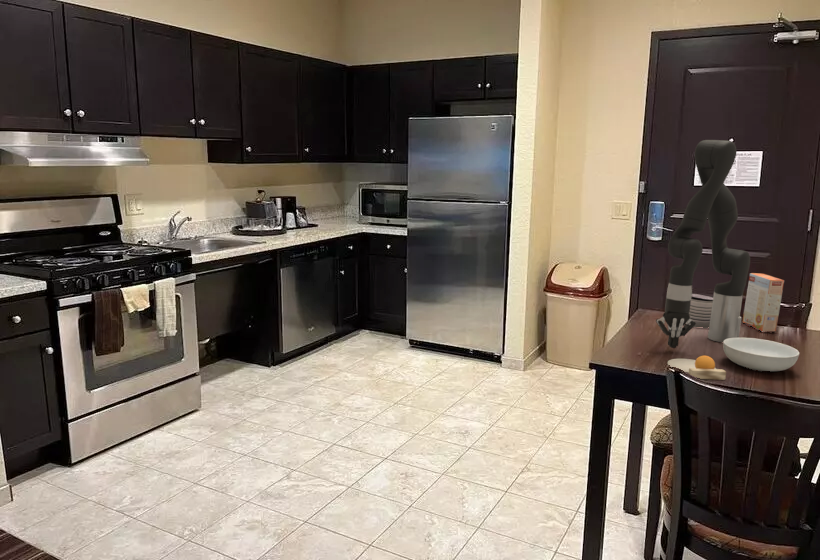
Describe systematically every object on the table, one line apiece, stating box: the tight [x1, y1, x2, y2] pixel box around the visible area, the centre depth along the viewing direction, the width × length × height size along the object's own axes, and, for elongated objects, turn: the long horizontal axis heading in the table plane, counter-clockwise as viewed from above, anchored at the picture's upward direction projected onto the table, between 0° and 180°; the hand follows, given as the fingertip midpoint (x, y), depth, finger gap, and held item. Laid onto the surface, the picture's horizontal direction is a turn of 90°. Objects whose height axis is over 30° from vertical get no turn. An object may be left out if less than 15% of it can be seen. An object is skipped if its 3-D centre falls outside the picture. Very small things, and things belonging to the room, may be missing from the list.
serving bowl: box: [722, 337, 800, 372], centre depth 189 cm, size 21×21×7 cm
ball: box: [695, 355, 716, 369], centre depth 182 cm, size 6×6×6 cm
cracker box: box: [741, 272, 785, 332], centre depth 234 cm, size 14×6×21 cm, turn 179°
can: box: [684, 293, 713, 329], centre depth 237 cm, size 11×11×12 cm
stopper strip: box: [688, 368, 727, 381], centre depth 178 cm, size 10×2×2 cm, turn 89°
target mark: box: [667, 358, 717, 374], centre depth 188 cm, size 14×14×1 cm
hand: (672, 347), depth 202 cm, fingers closed
